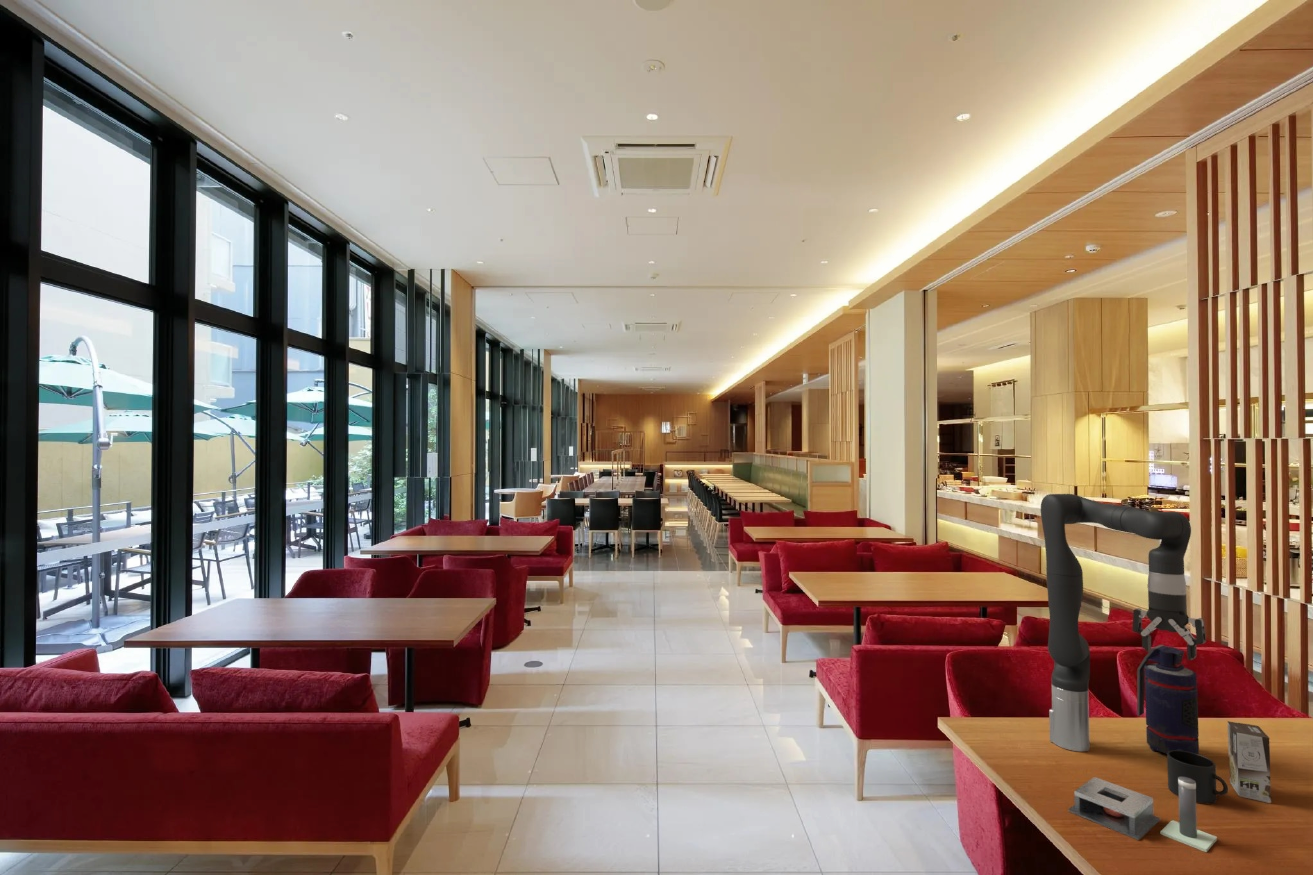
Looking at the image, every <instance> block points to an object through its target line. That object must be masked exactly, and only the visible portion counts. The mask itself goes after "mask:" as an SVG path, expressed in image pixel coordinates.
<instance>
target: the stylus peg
mask: <svg viewBox="0 0 1313 875" xmlns="http://www.w3.org/2000/svg"><path fill="white" fill-rule="evenodd" d="M1178 788H1179V796H1178V820H1179V831H1180V833H1181V834H1182V835H1184V836H1187V837H1190V838H1197V830H1198V827H1197V826H1198V822H1197V802H1196V782H1195V781H1194V780H1192V779H1190V778H1187V777H1178Z"/></svg>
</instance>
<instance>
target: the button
mask: <svg viewBox="0 0 1313 875" xmlns="http://www.w3.org/2000/svg"><path fill="white" fill-rule="evenodd" d="M1103 810H1104V811H1105V812H1106V813H1107V814H1109V815H1112V816H1116V817H1123V816H1124V814H1121V813H1119V812H1116V811H1114V810H1111V809H1109V808H1106V807H1104V806H1103Z"/></svg>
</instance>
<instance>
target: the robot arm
mask: <svg viewBox="0 0 1313 875" xmlns="http://www.w3.org/2000/svg"><path fill="white" fill-rule="evenodd" d="M1040 503H1041V504H1040V517H1041V524H1042V525H1041V526H1042V530H1043V537H1044V547H1045V560H1046V562H1045V563H1046V567H1045V568H1046V574H1045V575H1046V588H1047V602H1048V603H1047V604H1048V610H1049V625H1048V626H1049V627H1048V629H1049V630H1048V640H1047V642H1048V643H1047V650H1048V654H1049V655H1050V658H1051V659H1052V660H1053V661H1054V662H1053V664H1054V665H1053V670H1052V673H1051V679H1050V680H1051V708H1049V711H1048V713H1049V714H1048V715H1049V742H1050V743H1053V744H1055V745H1056V746H1058V747H1059V748H1062V749H1066V750H1068V751H1074V752H1087V751H1089V750H1090V747H1091V746H1090V743H1091V741H1090V709H1089V700H1090V699H1089V682H1090V677H1091V661H1090V660H1091V650H1090V645H1089V643H1088V641H1087V639H1086V638H1085V637H1084V636H1082V635H1081V634H1080V632H1079V631H1080V630H1079V618H1080V617H1079V616H1080V610H1081V607H1082V602H1083V595H1084V577H1083V576H1084V575H1083V573H1084V572H1083V568H1082V565H1081V563H1080V561H1079V560H1078V558H1077V557H1076V555H1075V553H1074V552H1073V551H1072V548H1070V545H1069V544H1068V540H1067V536H1066V525H1074V524H1081V523H1083V524H1085V523H1088V524H1089V523H1090V524H1092V523H1093V524H1099V525H1101V526H1103V527H1105V528H1107V529H1110V530H1114V531H1118V532H1124V533H1128V534H1134V535H1137V536H1139V537H1143V538H1145V539H1151V540H1159V541H1160V544H1159V546H1158V547H1155V548H1152V549H1150V550H1149V552H1148V557H1147V558H1148V559H1147V560H1148V577H1147V584H1146V585H1147V598H1148V601H1147V602H1148V609H1147V610H1145V609H1142V608H1140V607H1139V608H1135V609H1134V610H1133V611H1132V612H1133V614H1132V632H1134V633H1136V634H1139V635H1141V636H1140V637H1141V647H1142V649H1144V651H1145V652H1148V653H1149V652H1150V651H1151V649H1152V636H1151V635H1150V634H1151V633H1153V632H1154V630H1156V629H1157V630H1159V631H1168V632H1169V633H1178V635H1179V636H1180V637H1182V638H1183V639H1184V641H1185V642H1186V643H1187V644H1186V658H1187V660H1189V661H1192V660H1194V659H1196V658H1197V656H1198V654H1197V645H1203V644H1205V643H1206V642H1207V637H1206V628H1205V626H1206V625H1205V620H1204V619H1203V618H1202V617H1199V618H1195V617H1194V618H1193V617H1190V616H1188V612H1187V611H1188V607H1187V606H1188V604H1187V602H1188V601H1187V582H1186V578H1185V560H1184V559H1185V554H1186V553H1187V550H1188V545H1189V543H1190V539H1191V535H1192V527H1191V522H1190V521H1189V519H1188V518H1187V517H1186V515H1184V514H1183V513H1181V512H1178V511H1147V510H1144V509H1142V508H1139V507H1135V506H1127V505H1126V506H1125V505H1119V504H1112V503H1103V502H1099V501H1095V500H1092V499H1089V498H1087V497H1083V496H1080V495H1078V494H1077V495H1076V494H1073V493H1052V494H1051V493H1050V494H1046V495H1045V496H1044V497H1043V498H1042V500H1041V502H1040ZM1145 616H1147V618H1148V619H1149V621H1150V623H1149V624H1148V625H1147V626H1146V627H1145V628H1142V623H1143V619H1144V618H1145ZM1189 623H1190V624H1191V625H1192V627H1193V628H1195V636H1196V637H1194V636H1193V634H1192V633H1191V631H1190V630H1189V629H1188V628H1187V627H1186V626H1187V625H1188V624H1189Z"/></svg>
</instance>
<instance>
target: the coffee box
mask: <svg viewBox="0 0 1313 875" xmlns="http://www.w3.org/2000/svg"><path fill="white" fill-rule="evenodd" d="M1227 739H1228V740H1227V744H1228V745H1227V747H1228V764H1229V766H1228V767H1229V769H1228V770H1229V783H1230V785H1231V786H1232V788H1233V789H1234V791H1235V792H1236V794H1237V795H1238V797H1240V798H1244V799H1250V800H1253V801H1259V802H1263V803H1267V804H1271V803H1272V785H1271V780H1272V779H1271V752H1270V749H1271V748H1270V747H1271V746H1270V737H1269V736H1268V734H1266V732H1264V730H1263V729H1262V728H1261V727H1260V726H1259V725H1255V724H1251V723H1250V724H1249V723H1242V722H1235V721H1234V722H1233V721H1229V720H1227Z"/></svg>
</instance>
